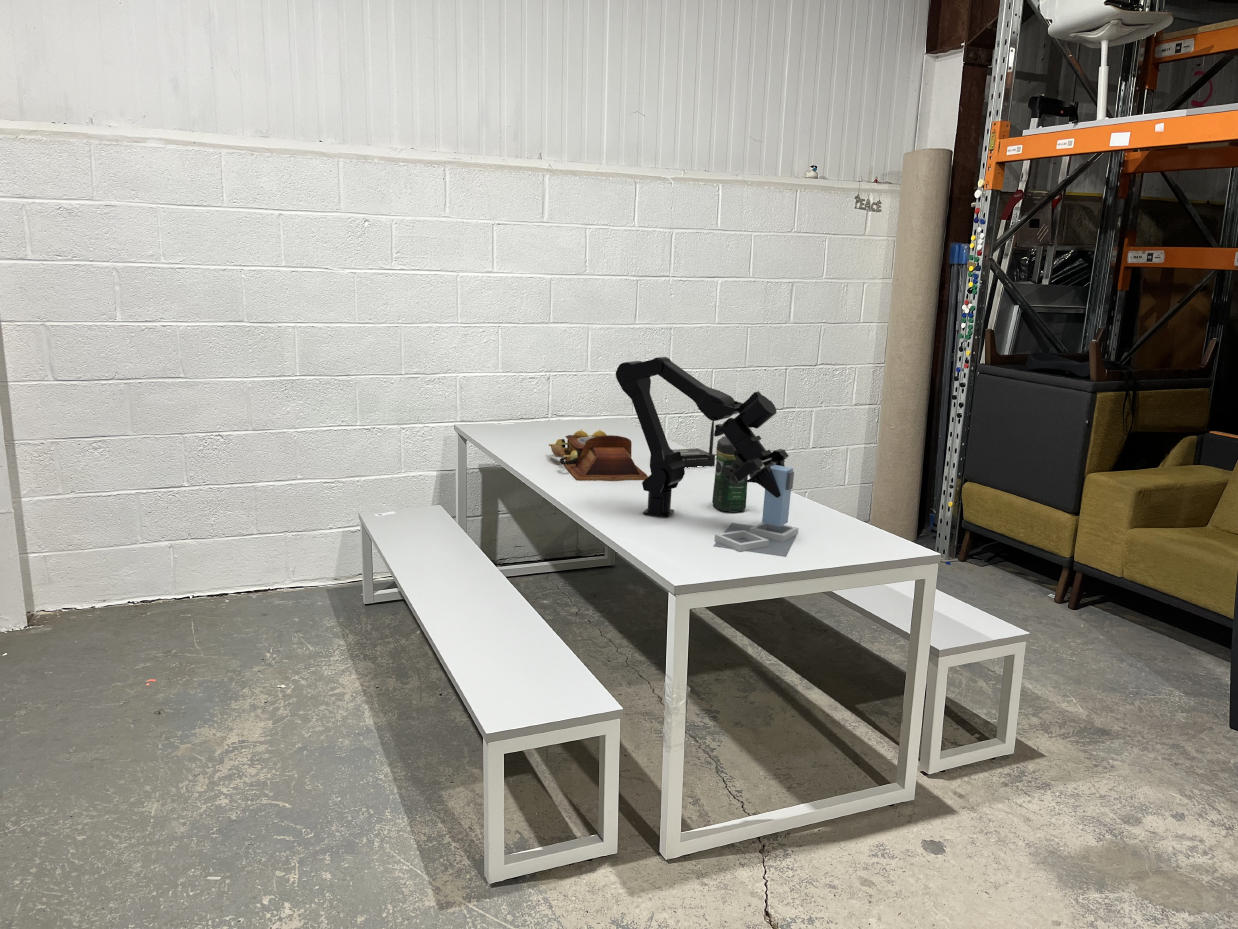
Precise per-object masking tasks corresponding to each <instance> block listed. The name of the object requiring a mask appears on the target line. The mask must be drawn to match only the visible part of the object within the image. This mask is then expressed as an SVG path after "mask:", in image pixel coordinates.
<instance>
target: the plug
mask: <svg viewBox="0 0 1238 929" xmlns="http://www.w3.org/2000/svg"><path fill="white" fill-rule="evenodd" d="M771 470H772V473H773V475H774V478H775V480H776V483H777V486H778V488H779V491H780V494H781V496H780V497H778V498H776V497H775V496H774V495H772V494H771V493H770V492H768V491H767V490H766V489H765V488H764V494H763V495H764V497H763V498H764V499H763V506H762V508H763V509H762V516H761V517H762V518H761V522H762V523H766V524H770V525H775V526H779V527H780V526H782V525H787V524H788V522H789V515H790V514H789V513H790V505H791V494H792V489H793V487H794V477H795V471H794V468H793V467H790V466H785V467H784V466H779V465H773V466H771Z"/></svg>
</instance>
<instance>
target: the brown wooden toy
mask: <svg viewBox="0 0 1238 929" xmlns="http://www.w3.org/2000/svg"><path fill="white" fill-rule="evenodd" d="M565 438H566V439H567V440H566V439H564V438H559V439H557V440H556V441H555V443H549V444H548V446H549V447H550V450H551V452H552V453H553V455H554V456H556V457H560V459H559V463H560V464H561V465H563V466H564V467H565V468H566V469H567V470H568V472H569V473H570V475H572V476H573V478H575V479H576V481H583V482H584V481H588V482H589V481H592V482H593V481H601V482H602V481H603V482H604V481H605V482H620V481H621V482H622V481H644V480H645V479H646V478H648V477H649V476H648V474H647V473H646V472H644V471H643V470H642V469H641V468H640V467H638V466H637V465H636V463H635V462H634V460H633V459H632V444H633V443H632V440H631V439H630V438H628V437H625V436H621V435H614V434H613V435H611V434H607V433H605V431H602V430H601V429H599V430H596V431H595V432H593V433H592V435H591V434H588V433H587V432H586V431H584V430H582V429H580V430H577V431H576V432H574V433H573V434H568V435H565Z"/></svg>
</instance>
